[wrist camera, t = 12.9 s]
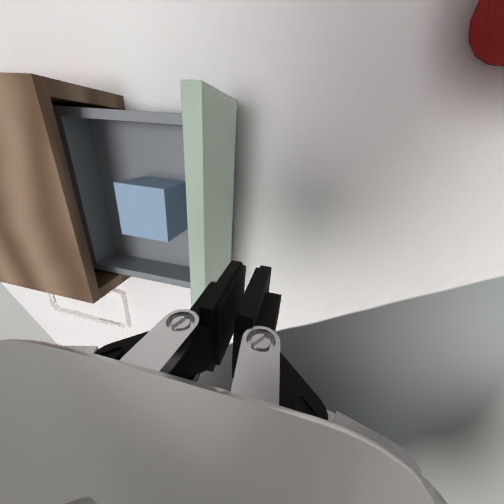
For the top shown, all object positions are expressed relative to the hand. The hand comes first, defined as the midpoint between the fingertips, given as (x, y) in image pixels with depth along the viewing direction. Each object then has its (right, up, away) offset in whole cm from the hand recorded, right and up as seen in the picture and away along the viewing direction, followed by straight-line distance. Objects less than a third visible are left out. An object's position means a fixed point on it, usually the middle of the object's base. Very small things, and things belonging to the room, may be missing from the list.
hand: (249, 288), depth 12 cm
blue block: (-9, +7, +14) cm, 18 cm away
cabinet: (-22, +10, +18) cm, 30 cm away
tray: (-10, +8, +15) cm, 19 cm away
